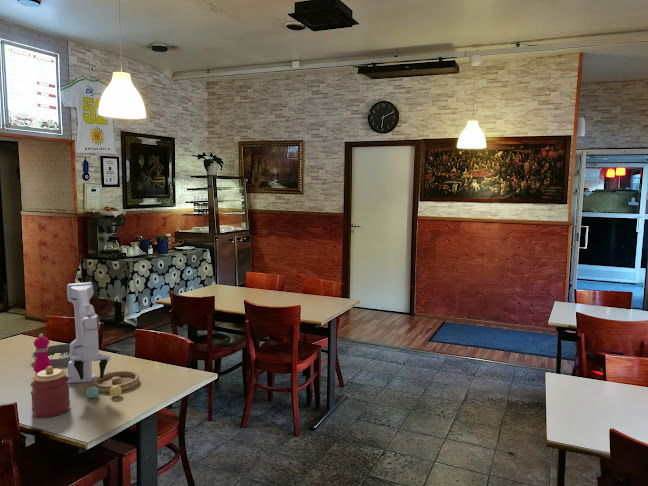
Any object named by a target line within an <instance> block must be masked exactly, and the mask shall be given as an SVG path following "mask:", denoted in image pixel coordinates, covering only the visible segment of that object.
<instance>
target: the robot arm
mask: <svg viewBox="0 0 648 486" xmlns="http://www.w3.org/2000/svg"><path fill="white" fill-rule="evenodd" d="M66 293H67V295H66V296H67V301H68V302H70V303H72V305H73V308H74V310H73V311H74V325H75V339H74V340H72V341H71V342H70V343H69V344H70V360H71V361H69V363H68V364H67V376H68V377H69V381H68V384H70V383H71V384H72V383H90V382H91V381H93V380H94V379H95V376H96V374H95V373H94V374H93V368H92V367H93V364H92V363H93V362H97V361H98V364H99V365H98V366H99V375H100V379H102V378H103V377H104V374H105V370H106V368H107V365H108V362H109V361H110V360H111V359H112V354H104V353H103V354H102V353H100V349H99V346H100V345H99V330H100V318H99V315H98V314H96V311H95V307H94V305H92V304H91V303H90V300H91V299H92V298H93V297H92V296H93V295H94V285H93V282H91V281H88V282H87V281H86V282H77V283H68V284H67V285H66ZM78 345H83V346H78ZM75 346H76V347H75Z"/></svg>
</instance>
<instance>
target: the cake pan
mask: <svg viewBox="0 0 648 486" xmlns="http://www.w3.org/2000/svg"><path fill="white" fill-rule="evenodd" d="M70 344H71V343H60V344H59V343H58V344H53V345H48V346H47V347H48V350H47V355H48V356H50V355H52V356H53V355H54V354H55V353H61V354H60V355H59V356H61V357H63V358H61V357H60V358H58V359H49V360H50V361H51V364H52V367H61V366H62V367H63V366H66V365H67V366H68V363H69V361H71V360H70ZM78 346H83V345H78ZM75 347H76V346H75ZM66 352H67V353H66ZM64 353H65V355H64ZM64 356H66V357H64ZM31 358H32V359H34V362H35V361H36V359H37V352H36V350H35V351H34V352H32V353H31ZM51 358H52V357H51Z"/></svg>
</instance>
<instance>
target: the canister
mask: <svg viewBox="0 0 648 486" xmlns="http://www.w3.org/2000/svg"><path fill="white" fill-rule="evenodd" d="M35 374H36V373H35ZM35 374H34V375H33V376H32V381H31V382H30V387H31V391H30V395H31V413H32V416H34V417H36V418H51V417H56V416H59V415H62V414H64V413H66V412H67V411H69V409H70V406H71V400H70V384H69V383H68V381H69V377H68V375H67V371H65V370H63V369H61V368H58V367H57V368H54V366H48V367H47V368H46V370H43V371H40V372H38V373H37V374H36V375H35Z"/></svg>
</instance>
